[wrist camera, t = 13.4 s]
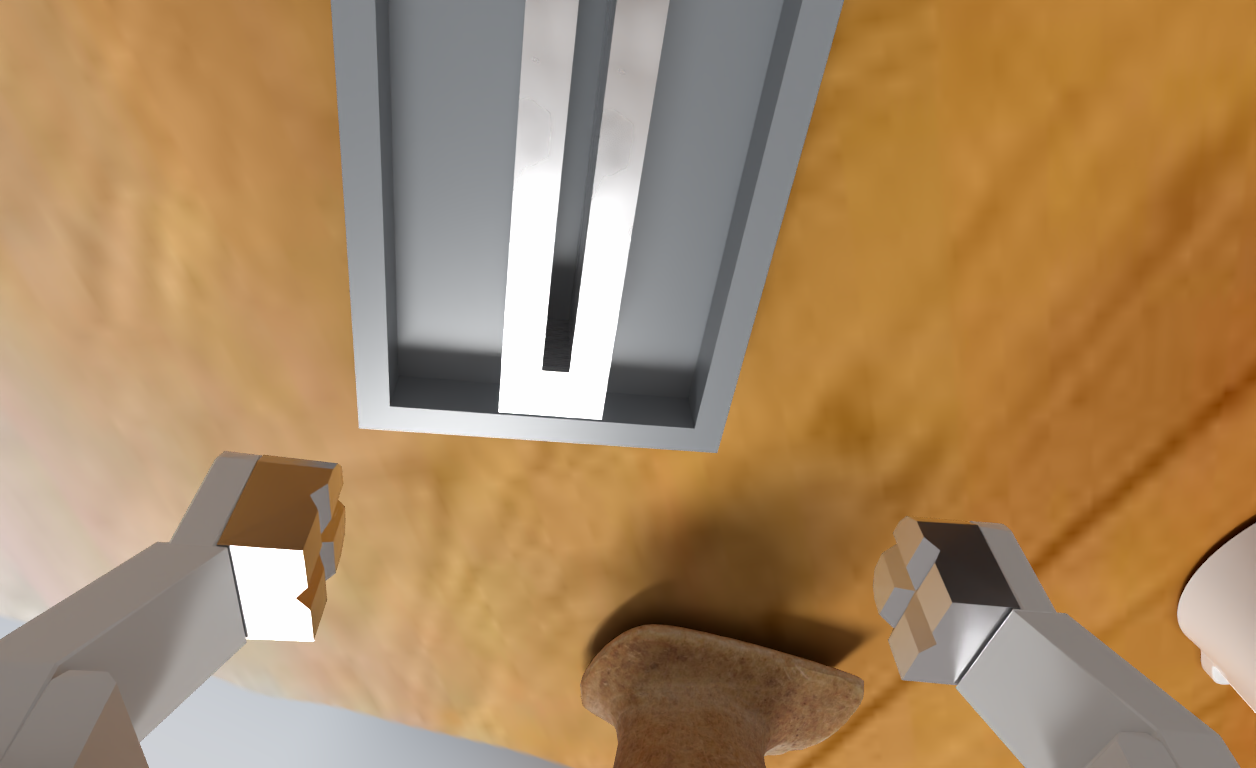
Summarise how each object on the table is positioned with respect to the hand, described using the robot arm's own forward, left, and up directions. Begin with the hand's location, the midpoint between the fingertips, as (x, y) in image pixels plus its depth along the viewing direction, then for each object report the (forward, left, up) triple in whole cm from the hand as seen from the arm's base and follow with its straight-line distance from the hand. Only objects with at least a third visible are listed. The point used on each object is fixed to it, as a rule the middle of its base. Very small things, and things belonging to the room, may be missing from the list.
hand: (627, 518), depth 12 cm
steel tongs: (0, +1, -19) cm, 19 cm away
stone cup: (-10, +33, -20) cm, 40 cm away
